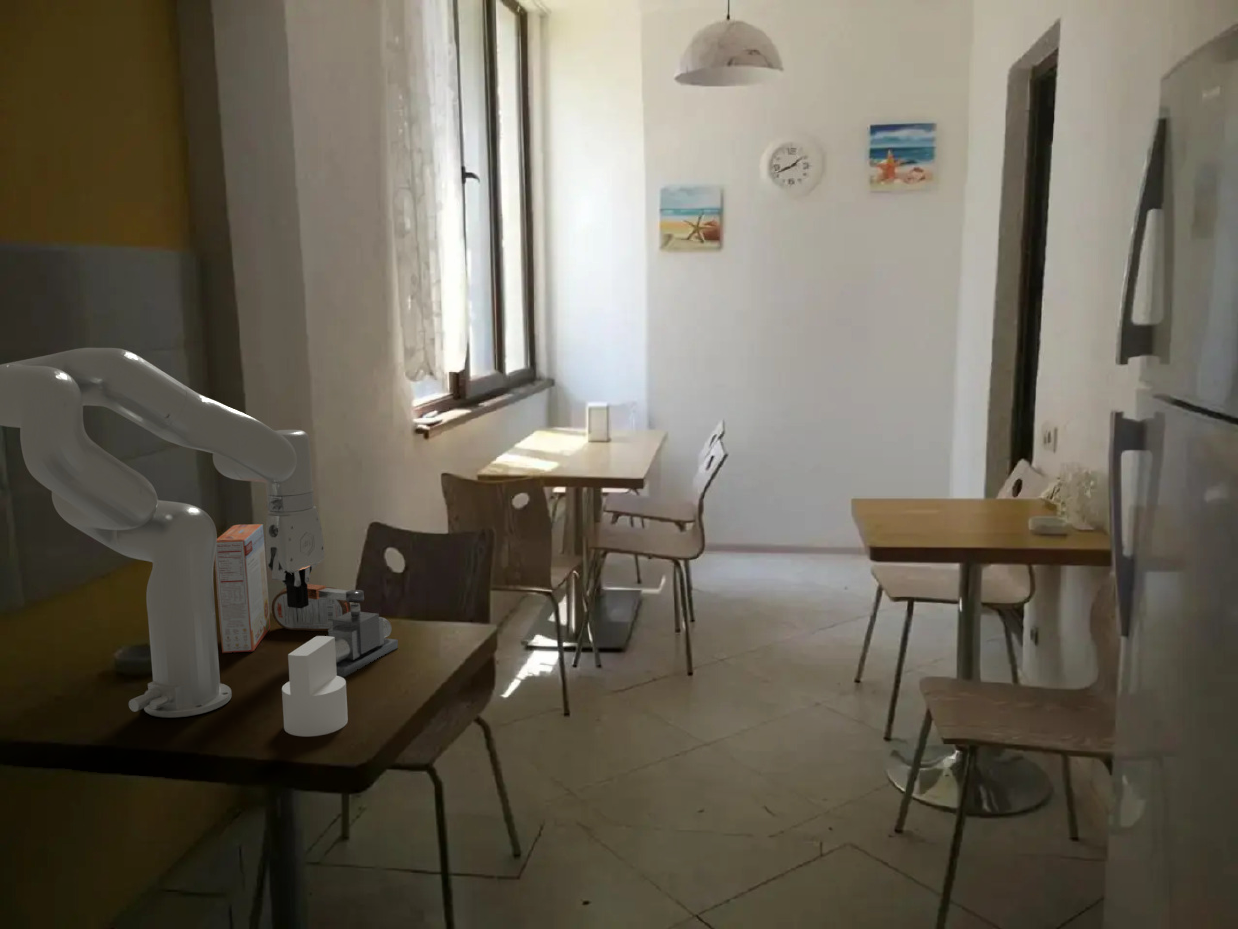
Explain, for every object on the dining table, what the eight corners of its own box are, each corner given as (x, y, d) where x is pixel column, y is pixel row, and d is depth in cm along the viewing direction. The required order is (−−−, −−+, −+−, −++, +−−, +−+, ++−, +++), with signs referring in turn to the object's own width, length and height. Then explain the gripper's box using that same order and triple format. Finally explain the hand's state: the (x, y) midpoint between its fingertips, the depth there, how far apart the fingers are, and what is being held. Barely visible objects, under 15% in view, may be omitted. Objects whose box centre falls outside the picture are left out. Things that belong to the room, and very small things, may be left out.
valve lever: (367, 599, 176) (366, 589, 176) (357, 604, 173) (356, 594, 173) (308, 593, 181) (307, 583, 180) (297, 597, 178) (296, 587, 178)
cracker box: (239, 630, 194) (232, 523, 191) (271, 629, 195) (265, 523, 192) (218, 654, 181) (211, 539, 178) (253, 652, 181) (246, 538, 178)
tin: (352, 628, 195) (350, 585, 194) (346, 633, 192) (344, 590, 191) (277, 626, 197) (275, 584, 196) (270, 631, 194) (268, 588, 193)
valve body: (344, 677, 168) (341, 618, 167) (314, 672, 171) (311, 615, 169) (398, 647, 183) (395, 594, 182) (369, 644, 185) (367, 591, 184)
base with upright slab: (330, 738, 144) (326, 657, 142) (272, 734, 145) (267, 654, 144) (358, 714, 153) (354, 637, 151) (302, 710, 154) (298, 634, 152)
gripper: (279, 512, 164) (287, 621, 167) (336, 495, 178) (342, 596, 180) (242, 510, 166) (250, 617, 169) (301, 493, 180) (308, 593, 183)
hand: (298, 606), depth 175 cm, fingers closed
